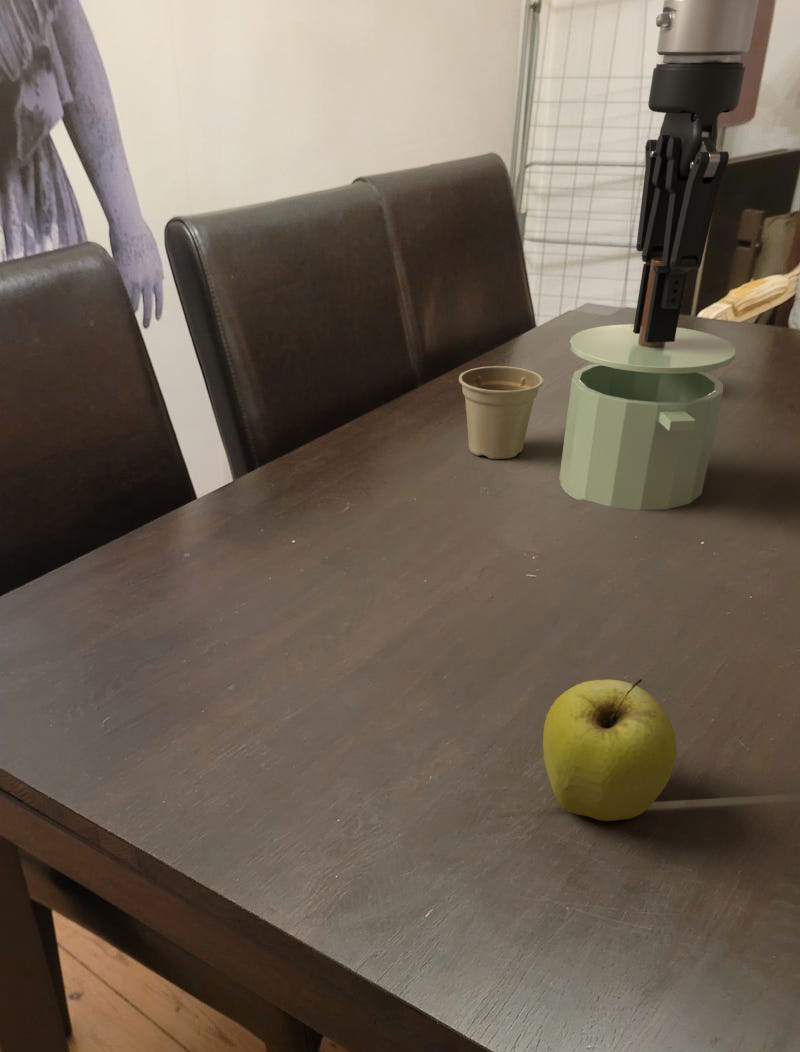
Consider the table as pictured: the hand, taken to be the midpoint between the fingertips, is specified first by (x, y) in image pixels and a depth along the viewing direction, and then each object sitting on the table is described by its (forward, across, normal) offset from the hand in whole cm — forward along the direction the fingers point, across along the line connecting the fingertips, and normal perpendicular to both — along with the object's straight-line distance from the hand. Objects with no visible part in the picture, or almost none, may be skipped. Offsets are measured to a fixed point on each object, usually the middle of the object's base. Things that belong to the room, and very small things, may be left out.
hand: (653, 336), depth 95 cm
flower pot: (+16, -12, -12) cm, 23 cm away
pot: (+16, 0, 0) cm, 16 cm away
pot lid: (+1, 0, 0) cm, 1 cm away
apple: (+16, +49, -19) cm, 55 cm away
